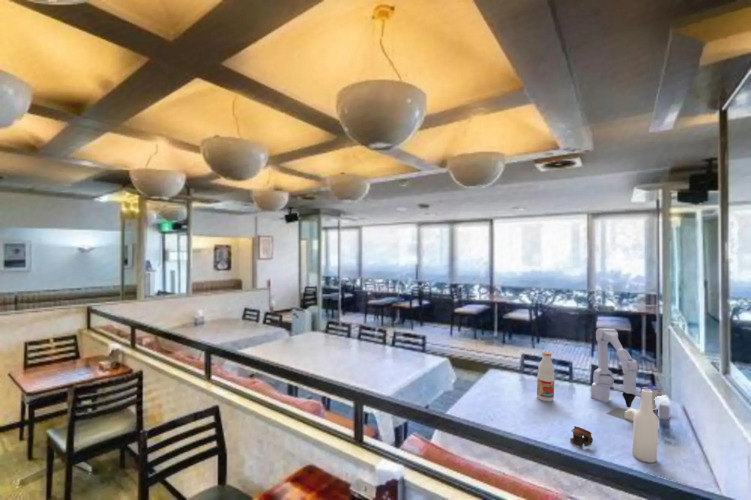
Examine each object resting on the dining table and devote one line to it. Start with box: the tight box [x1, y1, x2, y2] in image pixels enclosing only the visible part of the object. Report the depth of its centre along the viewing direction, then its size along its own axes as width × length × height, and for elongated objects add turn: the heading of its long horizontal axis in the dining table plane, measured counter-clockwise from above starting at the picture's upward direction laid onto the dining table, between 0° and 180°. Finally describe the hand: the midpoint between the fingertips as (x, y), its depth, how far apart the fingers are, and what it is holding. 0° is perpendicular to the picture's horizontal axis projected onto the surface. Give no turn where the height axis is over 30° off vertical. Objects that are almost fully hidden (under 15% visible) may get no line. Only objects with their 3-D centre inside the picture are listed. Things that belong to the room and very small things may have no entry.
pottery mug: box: [569, 425, 594, 448], centre depth 177 cm, size 12×10×8 cm
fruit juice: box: [536, 351, 555, 403], centre depth 230 cm, size 9×9×28 cm
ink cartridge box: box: [640, 382, 663, 409], centre depth 220 cm, size 10×6×14 cm, turn 102°
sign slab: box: [624, 407, 639, 421], centre depth 206 cm, size 4×9×7 cm
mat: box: [606, 406, 634, 424], centre depth 210 cm, size 14×16×1 cm
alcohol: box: [631, 389, 659, 464], centre depth 167 cm, size 9×9×30 cm
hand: (628, 406), depth 208 cm, fingers closed
